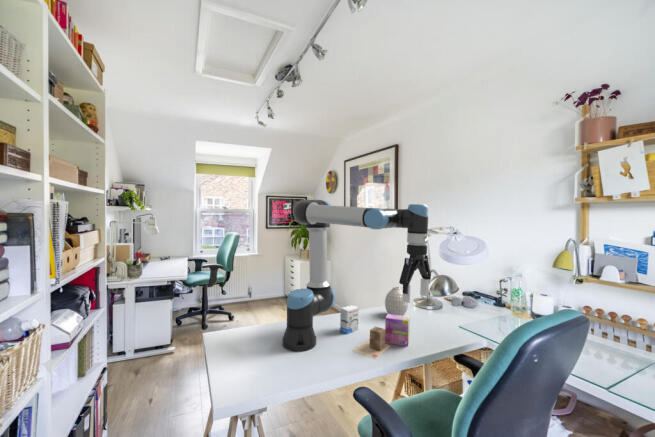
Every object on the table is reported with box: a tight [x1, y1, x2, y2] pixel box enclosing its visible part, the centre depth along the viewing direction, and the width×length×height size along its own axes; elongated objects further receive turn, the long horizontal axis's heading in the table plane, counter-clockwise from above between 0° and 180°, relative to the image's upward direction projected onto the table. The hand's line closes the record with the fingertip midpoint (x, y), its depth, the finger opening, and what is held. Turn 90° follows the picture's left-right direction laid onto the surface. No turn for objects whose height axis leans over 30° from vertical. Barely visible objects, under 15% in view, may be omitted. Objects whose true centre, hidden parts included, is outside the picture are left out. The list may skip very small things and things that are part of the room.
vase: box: [384, 286, 409, 316], centre depth 171 cm, size 13×13×17 cm
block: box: [369, 326, 386, 351], centre depth 132 cm, size 5×5×8 cm
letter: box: [352, 338, 391, 360], centre depth 131 cm, size 11×15×1 cm
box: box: [384, 313, 411, 347], centre depth 138 cm, size 10×6×12 cm, turn 70°
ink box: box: [339, 304, 360, 335], centre depth 150 cm, size 9×5×12 cm, turn 131°
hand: (415, 298), depth 117 cm, fingers open, 13 cm apart
